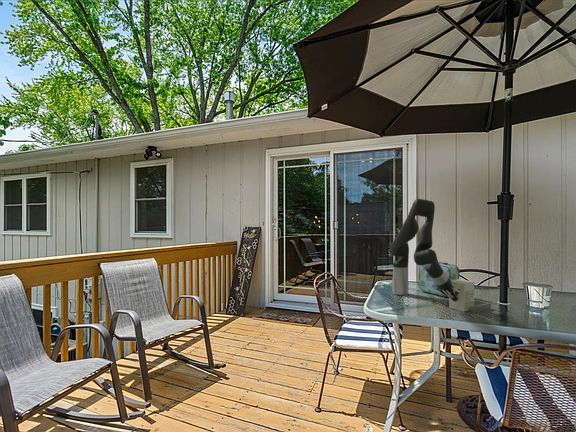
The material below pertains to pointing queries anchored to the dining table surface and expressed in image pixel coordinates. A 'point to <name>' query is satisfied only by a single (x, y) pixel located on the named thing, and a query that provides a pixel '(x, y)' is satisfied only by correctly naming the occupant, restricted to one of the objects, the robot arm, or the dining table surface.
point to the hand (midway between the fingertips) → (455, 300)
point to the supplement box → (463, 295)
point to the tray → (476, 306)
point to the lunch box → (428, 284)
